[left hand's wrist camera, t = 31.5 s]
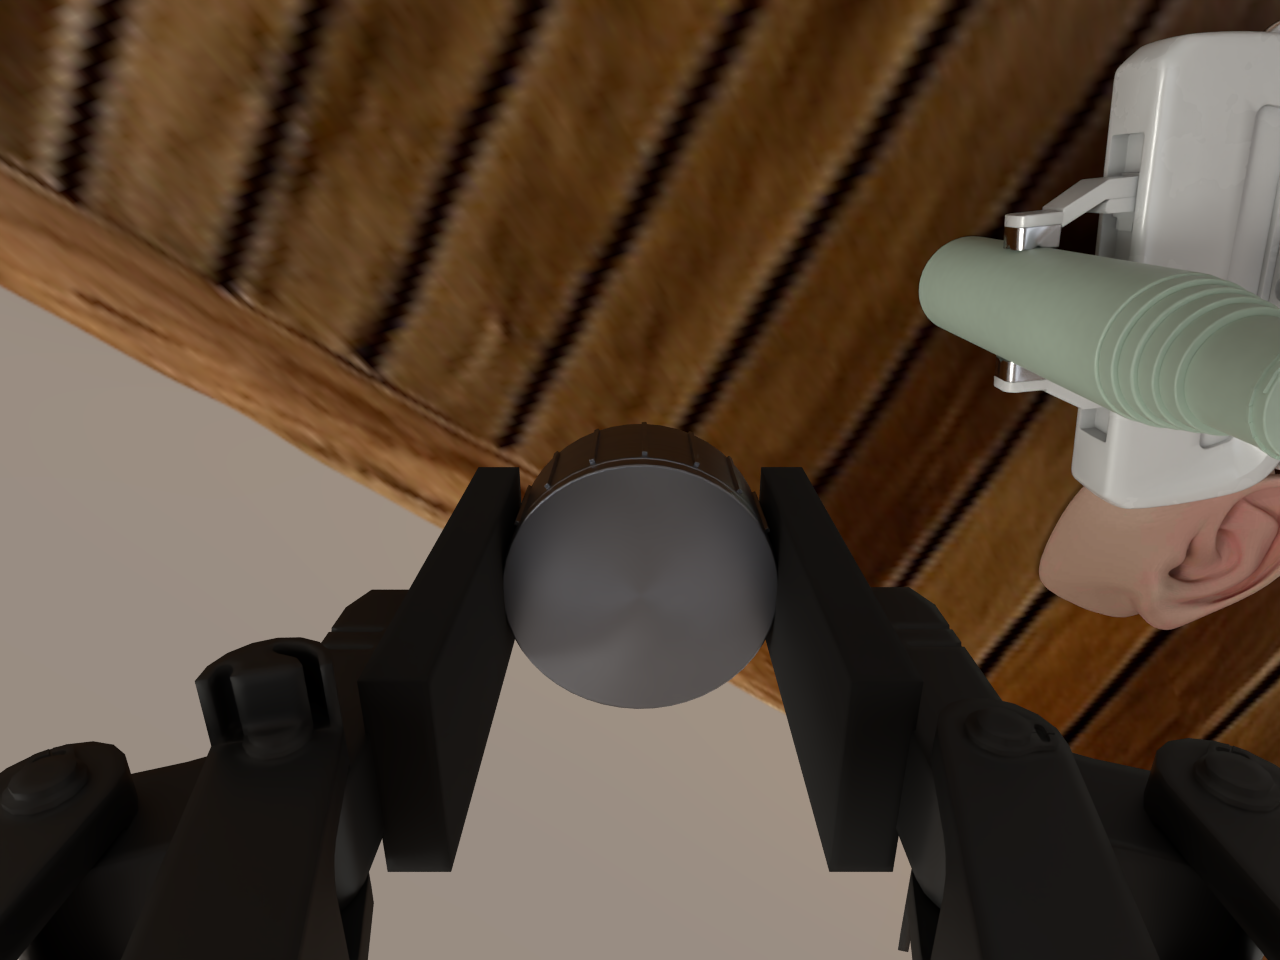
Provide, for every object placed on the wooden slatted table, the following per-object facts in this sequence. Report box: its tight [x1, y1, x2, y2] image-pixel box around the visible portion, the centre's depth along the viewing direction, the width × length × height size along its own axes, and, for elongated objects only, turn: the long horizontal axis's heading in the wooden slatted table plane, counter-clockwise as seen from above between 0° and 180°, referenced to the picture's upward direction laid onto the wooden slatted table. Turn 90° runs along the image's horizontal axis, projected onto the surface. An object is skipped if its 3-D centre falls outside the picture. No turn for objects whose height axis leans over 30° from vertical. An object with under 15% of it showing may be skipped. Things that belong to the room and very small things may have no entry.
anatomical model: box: [1039, 470, 1280, 630], centre depth 44 cm, size 13×4×12 cm
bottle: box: [919, 236, 1280, 460], centre depth 30 cm, size 5×5×23 cm
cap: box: [503, 422, 778, 709], centre depth 14 cm, size 5×5×2 cm
